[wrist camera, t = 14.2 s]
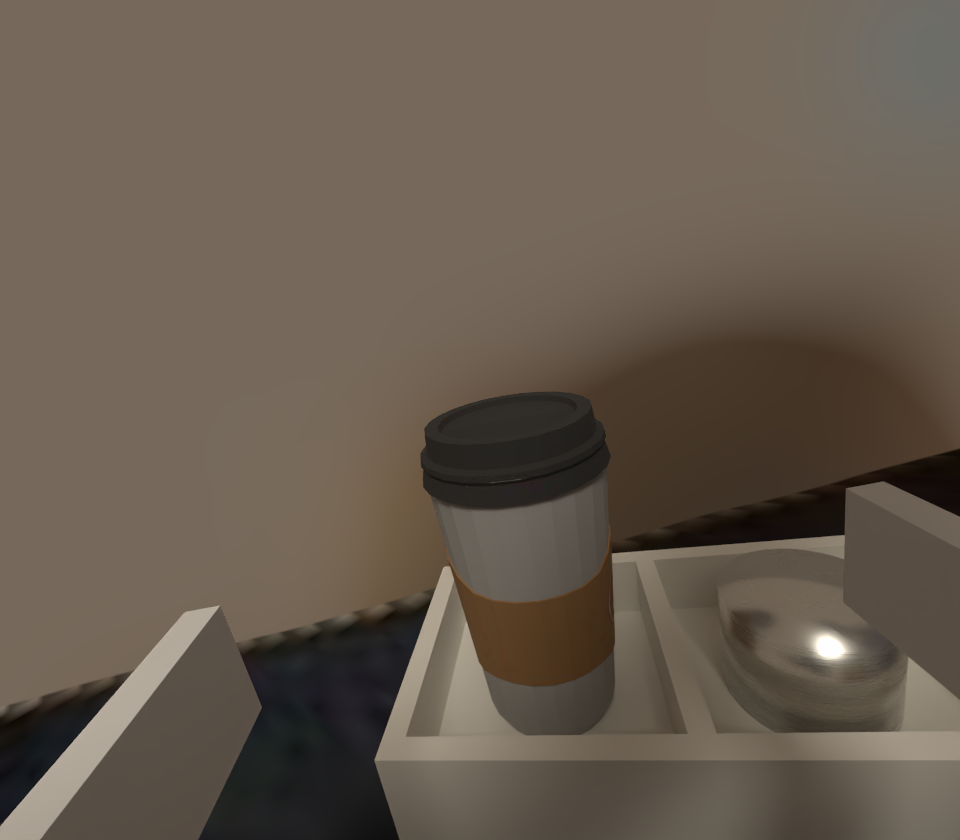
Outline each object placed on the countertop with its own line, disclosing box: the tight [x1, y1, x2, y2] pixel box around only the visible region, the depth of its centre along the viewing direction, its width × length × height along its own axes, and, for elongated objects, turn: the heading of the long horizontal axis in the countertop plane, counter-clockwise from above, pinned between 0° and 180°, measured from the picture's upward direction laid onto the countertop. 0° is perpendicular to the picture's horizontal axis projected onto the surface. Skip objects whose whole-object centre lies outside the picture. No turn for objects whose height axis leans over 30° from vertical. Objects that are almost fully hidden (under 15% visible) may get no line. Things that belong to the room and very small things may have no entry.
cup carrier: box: [374, 535, 960, 840], centre depth 23 cm, size 25×13×4 cm, turn 82°
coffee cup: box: [421, 392, 615, 736], centre depth 22 cm, size 8×8×15 cm
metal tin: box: [717, 549, 908, 733], centre depth 22 cm, size 7×7×5 cm
